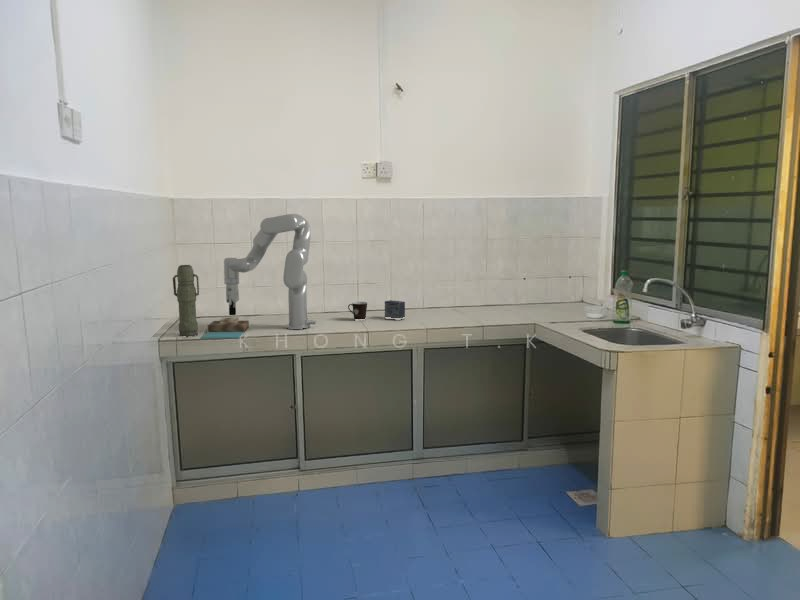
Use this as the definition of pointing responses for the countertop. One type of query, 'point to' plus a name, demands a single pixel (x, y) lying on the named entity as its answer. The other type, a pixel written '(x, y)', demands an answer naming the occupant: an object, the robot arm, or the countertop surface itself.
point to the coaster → (229, 320)
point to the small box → (394, 309)
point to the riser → (228, 326)
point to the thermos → (186, 300)
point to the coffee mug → (359, 309)
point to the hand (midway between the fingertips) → (232, 314)
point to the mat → (222, 335)
